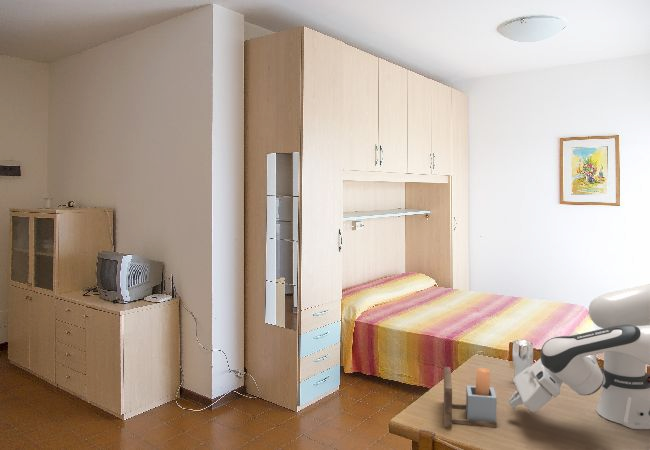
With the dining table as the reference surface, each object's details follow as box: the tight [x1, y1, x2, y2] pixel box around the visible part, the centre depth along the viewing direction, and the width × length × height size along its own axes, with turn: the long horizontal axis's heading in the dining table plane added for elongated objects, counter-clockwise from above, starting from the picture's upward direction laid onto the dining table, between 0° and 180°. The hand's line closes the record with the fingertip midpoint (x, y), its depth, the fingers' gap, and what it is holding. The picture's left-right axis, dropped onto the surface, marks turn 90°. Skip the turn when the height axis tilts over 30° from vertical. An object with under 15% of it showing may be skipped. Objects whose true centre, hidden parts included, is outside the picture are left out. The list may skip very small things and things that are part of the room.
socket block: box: [465, 384, 498, 422], centre depth 155 cm, size 8×8×8 cm
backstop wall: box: [443, 366, 498, 429], centre depth 155 cm, size 15×18×12 cm
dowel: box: [475, 367, 491, 396], centre depth 155 cm, size 4×4×14 cm
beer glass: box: [511, 339, 534, 385], centre depth 181 cm, size 7×7×15 cm
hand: (510, 404), depth 153 cm, fingers closed
